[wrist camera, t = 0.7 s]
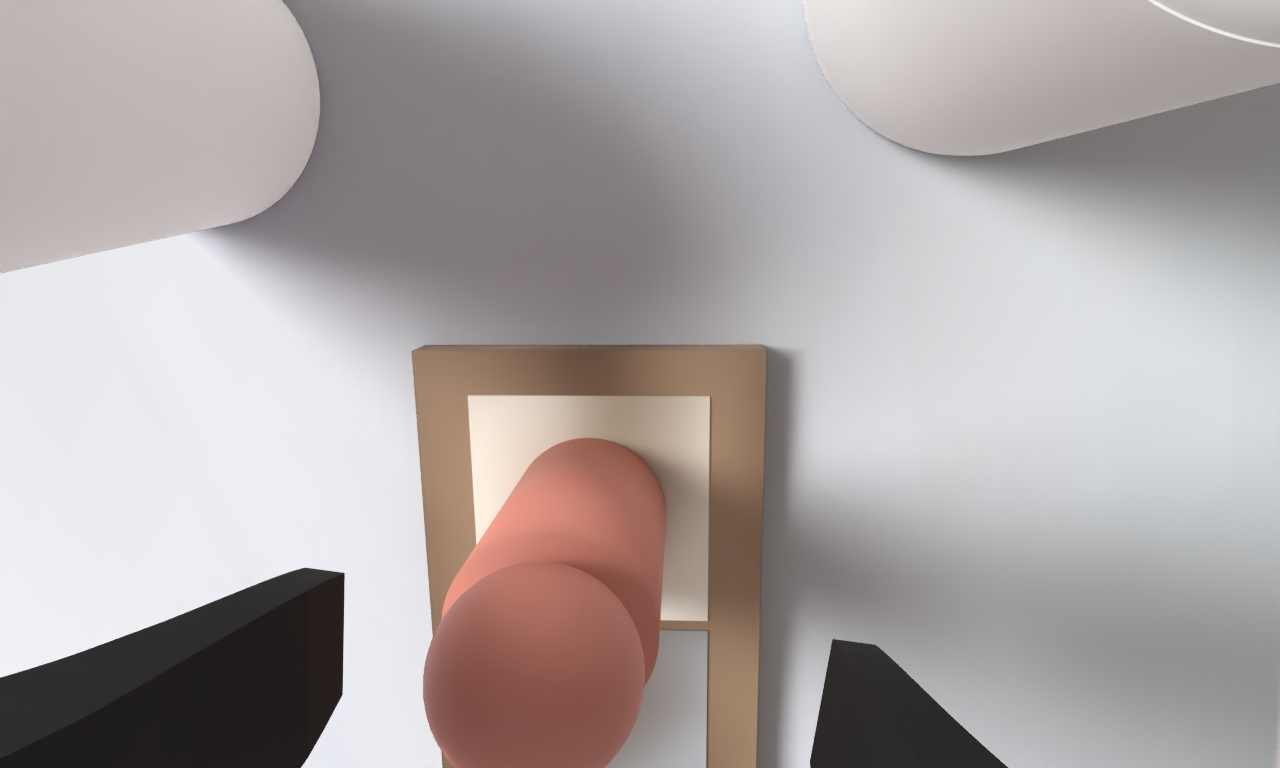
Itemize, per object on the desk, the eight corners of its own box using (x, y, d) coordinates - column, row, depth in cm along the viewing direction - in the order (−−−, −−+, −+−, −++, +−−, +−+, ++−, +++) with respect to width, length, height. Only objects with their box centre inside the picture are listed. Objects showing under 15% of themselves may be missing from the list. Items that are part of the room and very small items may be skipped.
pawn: (518, 580, 20) (384, 863, 11) (511, 437, 19) (361, 616, 10) (666, 582, 19) (653, 874, 10) (666, 438, 18) (651, 623, 10)
